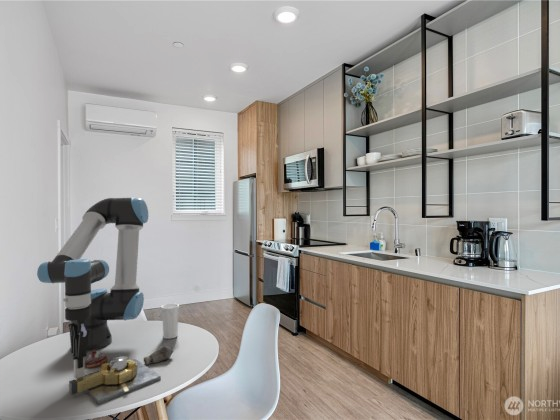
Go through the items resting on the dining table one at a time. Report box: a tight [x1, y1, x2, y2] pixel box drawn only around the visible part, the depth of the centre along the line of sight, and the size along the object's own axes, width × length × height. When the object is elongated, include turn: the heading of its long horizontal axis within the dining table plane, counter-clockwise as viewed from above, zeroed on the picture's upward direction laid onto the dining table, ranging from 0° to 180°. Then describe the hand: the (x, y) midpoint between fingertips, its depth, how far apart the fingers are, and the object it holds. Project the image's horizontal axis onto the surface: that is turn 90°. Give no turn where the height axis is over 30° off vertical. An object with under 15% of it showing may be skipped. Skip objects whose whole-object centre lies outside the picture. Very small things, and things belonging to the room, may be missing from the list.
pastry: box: [84, 349, 108, 369], centre depth 128 cm, size 8×8×5 cm
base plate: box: [76, 355, 162, 405], centre depth 115 cm, size 21×20×7 cm
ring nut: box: [68, 356, 137, 396], centre depth 112 cm, size 20×11×4 cm, turn 137°
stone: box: [143, 344, 174, 366], centre depth 130 cm, size 10×5×8 cm
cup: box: [160, 302, 180, 340], centre depth 154 cm, size 8×8×14 cm
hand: (79, 376), depth 113 cm, fingers closed
